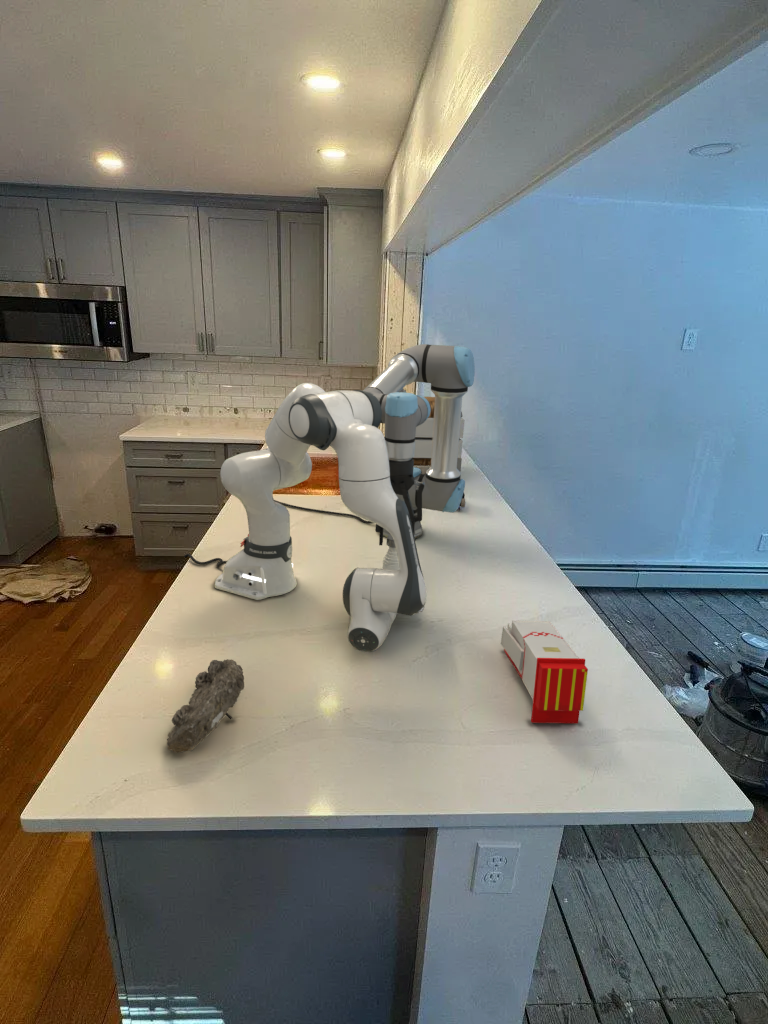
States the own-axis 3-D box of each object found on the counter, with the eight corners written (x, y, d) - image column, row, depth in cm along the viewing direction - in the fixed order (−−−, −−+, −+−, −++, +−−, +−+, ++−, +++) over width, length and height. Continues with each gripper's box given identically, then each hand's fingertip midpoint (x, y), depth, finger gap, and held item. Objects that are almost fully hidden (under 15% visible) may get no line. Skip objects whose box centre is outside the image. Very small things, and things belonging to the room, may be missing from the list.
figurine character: (465, 515, 224) (460, 499, 237) (467, 498, 221) (462, 483, 234) (448, 515, 224) (444, 499, 237) (450, 498, 220) (445, 482, 234)
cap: (389, 548, 144) (389, 541, 144) (384, 542, 148) (385, 535, 147) (403, 547, 145) (404, 539, 145) (398, 541, 149) (399, 534, 148)
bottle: (405, 604, 152) (409, 540, 146) (390, 610, 149) (394, 545, 143) (391, 596, 156) (394, 534, 150) (376, 602, 153) (379, 539, 146)
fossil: (192, 660, 117) (244, 628, 112) (224, 691, 120) (276, 661, 115) (142, 746, 98) (202, 712, 93) (182, 779, 101) (242, 748, 96)
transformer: (382, 463, 289) (386, 382, 275) (445, 464, 293) (451, 384, 279) (390, 482, 257) (394, 392, 243) (460, 483, 261) (468, 394, 247)
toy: (547, 606, 135) (596, 665, 106) (541, 658, 138) (589, 729, 108) (496, 604, 134) (532, 664, 105) (492, 657, 137) (526, 729, 108)
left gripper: (423, 601, 135) (432, 577, 148) (341, 589, 140) (356, 566, 152) (421, 624, 138) (430, 598, 150) (340, 611, 142) (356, 587, 154)
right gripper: (437, 456, 142) (431, 541, 150) (361, 451, 143) (359, 536, 151) (437, 463, 135) (431, 552, 143) (358, 458, 136) (355, 547, 144)
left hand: (392, 582), depth 151 cm, fingers closed on bottle, 5 cm apart
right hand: (394, 544), depth 147 cm, fingers open, 6 cm apart
